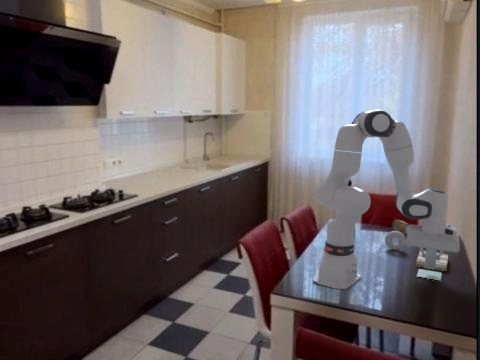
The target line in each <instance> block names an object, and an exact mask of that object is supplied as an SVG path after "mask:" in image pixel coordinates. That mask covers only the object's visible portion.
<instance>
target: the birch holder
mask: <svg viewBox="0 0 480 360" xmlns="http://www.w3.org/2000/svg"><path fill="white" fill-rule="evenodd" d="M423 251H424V253H426V250H423ZM439 254H440V252H437V255H439ZM448 260H449V253H448V254H447V253H443V254H442V255H441V257H440V260H436V268H435V269H437V270H442V271H441V272H443V271H446V272H447V268H448V263H449V262H448ZM415 264H416V266H415V267H416V268H420V267H423V268H422V269H426V268H425V258H423V257H422V253H421V251H420V250H419V253H418V256H417V258H416V263H415ZM437 270H436V271H437Z"/></svg>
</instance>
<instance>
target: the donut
mask: <svg viewBox="0 0 480 360" xmlns="http://www.w3.org/2000/svg"><path fill="white" fill-rule="evenodd" d="M395 238H396V239H398V242H397V243H394V242H393V239H395ZM406 239H407V237H405V236H404V235H403V234H402V233H401V232H399V231H393V230H392V231H389V232H388V233H387V234H386V235H385V237H384V242H385V244H386V247H388V248H389V249H390V250H393V251H400V250H402V249H403V248H404V247H405V246H406V245H407V244H406Z"/></svg>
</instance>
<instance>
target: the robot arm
mask: <svg viewBox="0 0 480 360" xmlns="http://www.w3.org/2000/svg"><path fill="white" fill-rule="evenodd" d="M367 138H378V139H379V140H380V141H381V143H382V147H383V152H384V156H385V158H386V161H387V164H388V166H389V167H390V170H391V171H392V174H393V177H394V182H395V183H394V184H395V188H396V196H395V200H394V201H395V202H394V203H395V204H394V205H395V207H396V209H397V210H398V211H399V212H400V213H401V214H402V215H403V217H405V218H406V219H408V220H413V221H414V220H415V221H416V220H422V221H421V224H409V225H408V226H407V228H406V232H407V237H406V244H405V245H406V246H410V247H416V248H419V252H420V251H421V253H422V257H423V258H425V256H426V253H424V251H425V250H424V249H426V248H431V249H437V251H439V253H440V254H439V255H436V260H440V257H441V255H442V254H445V253H444V252H451V253H459V252H460V238H459V235H458V228H457V227H456V226H453V225H451V224H449V223H447V219H446V214H447V211H448V195H447V193H446V192H444V191H443V190H441V189H438V188H435V187H434V188H433V187H428V188H426V189H425V190H423V191H421V192H418V193H416V192H415V191H414V189H413V186H412V181H411V176H410V168H411V166H412V165H413V163H414V162H415V153H414V147H413V142H412V139H411V136H410V132H409V129H408V127H407V126H406V124H405V123H404V122H403V121H401V120H395V119H393V117H392V116H391V115H390V113H389V112H387V111H386V110H382V109H369V110H365V111H362V112H360V113H359V114H357V115H356V117H354V119H353V121H352V122H351V123H350V124H345V125H343V126H341V127H340V128H339V129H338V131H337V135H336V138H335V139H336V140H335V142H334V143H335V144H334V150H333V158H332V164H331V169H330V171H329V174H328V176H327V177H326V179H325V180H324V181H323V182H322V183H321V184H319V185H318V187H317V188H316V191H315V199H316V201H317V203H319V204H320V205H322V206H323V207H326V208H328V209H331V210H335V211H336V216H335V218H333V219H332V220H330V221H329V222H328V224H327V226H326V241H325V244H324V248H323V251H322V256H321V259H320V261H319V266H317V268H316V271H315V272H314V276H313V277H312V278H313V279H312V282H313V281H314V282H316V283H318V284H321V285H320V286H322V285H324V286H323V287H325V286H327V287H326V288H330V287H331V288H332V289H338V290H346V289H348V288H349V287H351V286H352V285H354V284H355V283H356V282H358V281H359V280H361V278H362V276H361V274H359V273H358V257H357V256H356V255H355V253H354V252H355V247H356V246H355V243H354V239H355V237H354V229H355V230H356V224H357V222H358V220H359V218H360V217H361V216H362V215H364V214H365V213H366V212H368V211H369V209H370V207H371V202H372V201H371V196H370V194H369V192H368V191H366V190H363V189H362V188H360V187H357V186H356V187H355V186H353V185H352V186H347V185H348V182H349V180H350V179H351V178H352V177H354V176H356V175H357V174H358V173H359V172H360V170H361V169H360V168H361V160H362V153H363V145H364V142H365V140H366V139H367ZM314 282H313V283H314ZM316 283H315V284H316ZM318 284H317V285H318Z"/></svg>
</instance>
